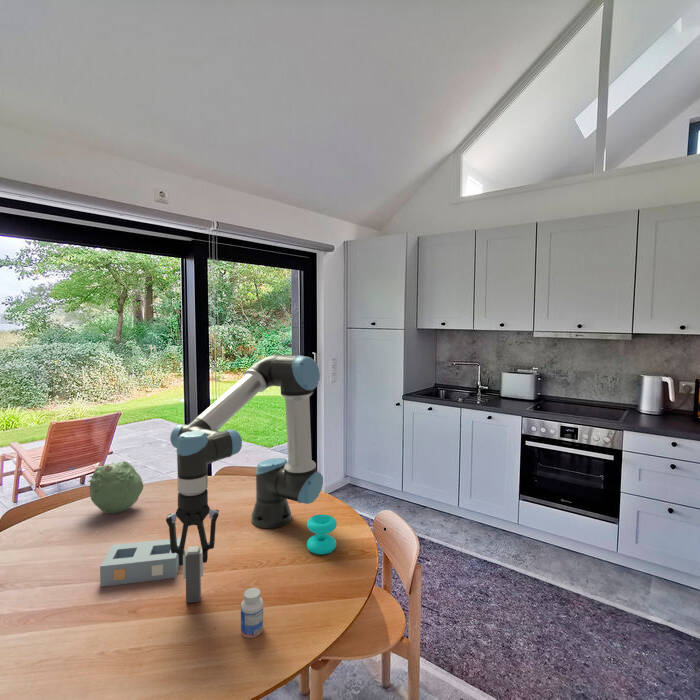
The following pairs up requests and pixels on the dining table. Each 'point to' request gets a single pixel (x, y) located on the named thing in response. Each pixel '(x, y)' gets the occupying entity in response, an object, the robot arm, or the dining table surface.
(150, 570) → the socket block
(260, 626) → the pill bottle
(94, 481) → the cabbage
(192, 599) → the plug
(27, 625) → the dining table surface
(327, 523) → the turquoise spool
